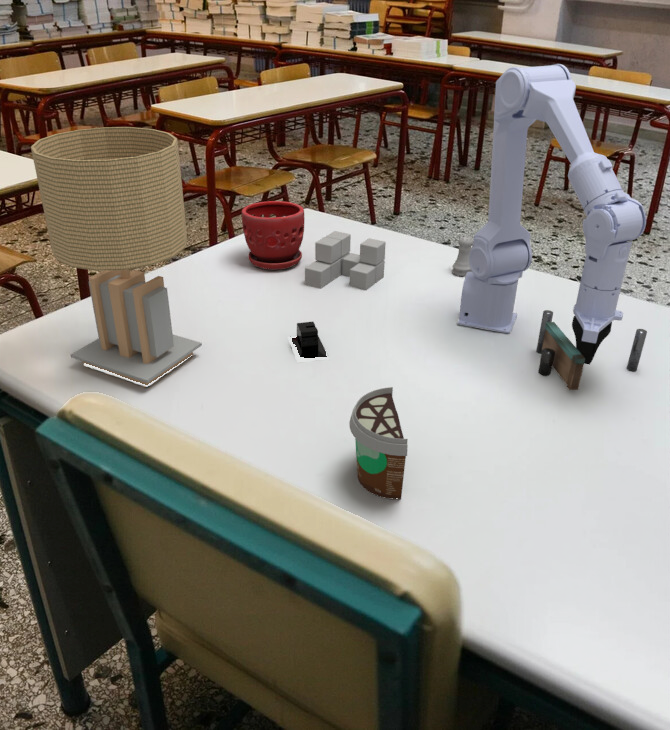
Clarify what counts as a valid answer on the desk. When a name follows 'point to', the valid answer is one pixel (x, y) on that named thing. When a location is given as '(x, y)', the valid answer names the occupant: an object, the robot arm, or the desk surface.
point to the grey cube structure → (346, 262)
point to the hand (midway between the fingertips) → (583, 362)
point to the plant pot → (273, 233)
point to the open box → (564, 356)
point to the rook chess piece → (463, 257)
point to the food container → (379, 444)
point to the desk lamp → (118, 238)
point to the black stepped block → (308, 341)
